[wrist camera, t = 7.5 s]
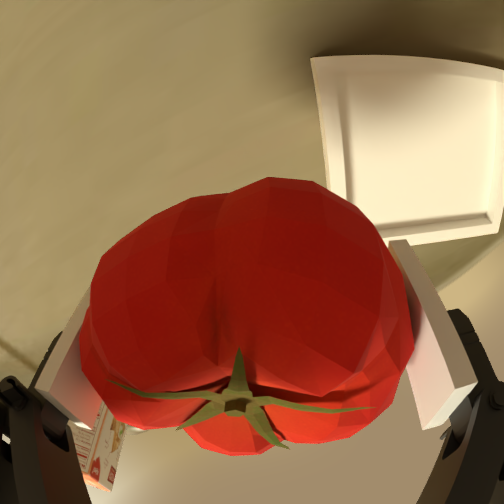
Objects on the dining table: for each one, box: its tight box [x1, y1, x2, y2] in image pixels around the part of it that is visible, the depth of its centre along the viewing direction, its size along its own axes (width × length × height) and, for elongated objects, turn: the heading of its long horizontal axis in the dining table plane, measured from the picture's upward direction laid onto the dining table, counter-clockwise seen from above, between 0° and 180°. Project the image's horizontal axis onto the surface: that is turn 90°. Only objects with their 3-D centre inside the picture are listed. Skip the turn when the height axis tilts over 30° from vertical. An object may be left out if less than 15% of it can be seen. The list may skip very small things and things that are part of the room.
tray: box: [310, 55, 504, 248], centre depth 21 cm, size 16×18×2 cm
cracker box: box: [67, 400, 128, 492], centre depth 32 cm, size 14×6×21 cm, turn 166°
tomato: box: [79, 177, 415, 456], centre depth 10 cm, size 10×11×6 cm
